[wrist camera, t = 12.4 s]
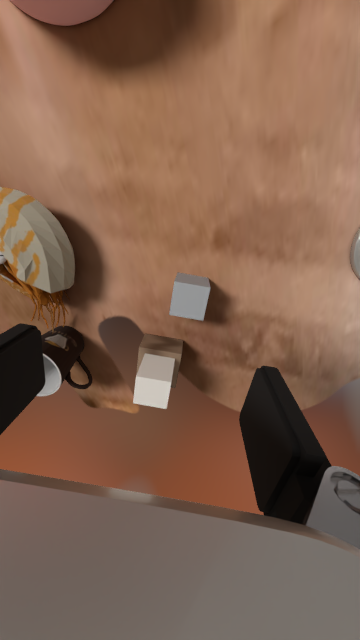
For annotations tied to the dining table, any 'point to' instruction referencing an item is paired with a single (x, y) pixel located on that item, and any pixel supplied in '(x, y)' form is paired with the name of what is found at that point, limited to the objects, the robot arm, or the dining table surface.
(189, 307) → the grey block
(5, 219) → the nautilus
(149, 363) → the ceramic block
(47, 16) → the cake
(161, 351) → the metal block
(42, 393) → the coffee mug
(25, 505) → the robot arm
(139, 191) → the dining table surface
